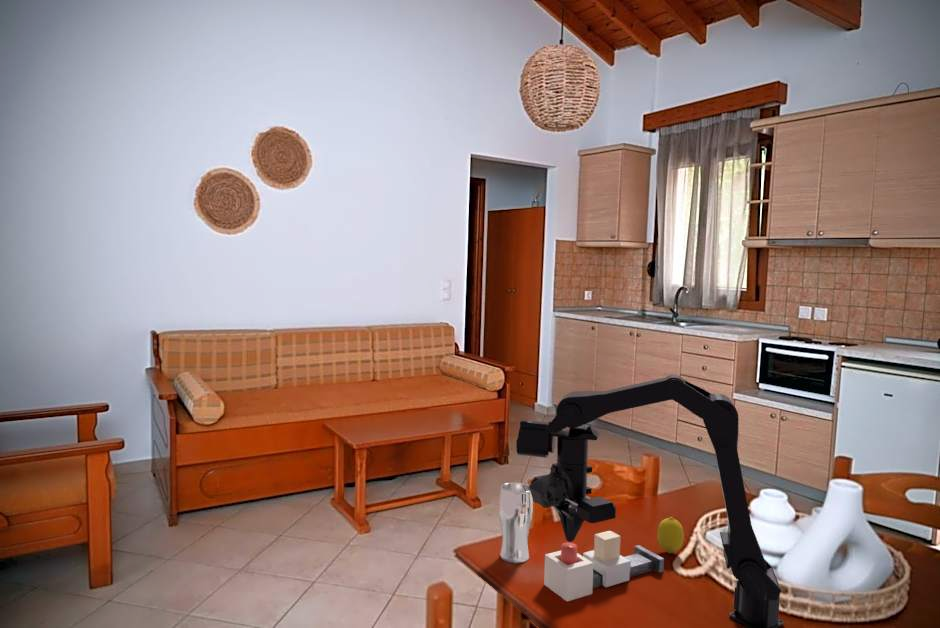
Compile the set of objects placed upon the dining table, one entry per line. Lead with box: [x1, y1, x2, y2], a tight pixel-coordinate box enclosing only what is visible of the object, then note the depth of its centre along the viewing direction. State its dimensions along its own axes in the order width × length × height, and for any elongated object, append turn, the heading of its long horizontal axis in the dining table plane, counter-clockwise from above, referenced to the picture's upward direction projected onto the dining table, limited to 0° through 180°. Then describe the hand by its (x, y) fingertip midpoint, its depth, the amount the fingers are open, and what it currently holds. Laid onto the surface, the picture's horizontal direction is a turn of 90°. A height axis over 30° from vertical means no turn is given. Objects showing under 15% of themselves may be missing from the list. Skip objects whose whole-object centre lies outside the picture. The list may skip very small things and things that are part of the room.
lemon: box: [656, 516, 685, 554], centre depth 134 cm, size 6×6×8 cm
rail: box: [592, 544, 665, 589], centre depth 124 cm, size 7×17×3 cm, turn 120°
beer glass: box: [499, 481, 534, 564], centre depth 131 cm, size 7×7×15 cm
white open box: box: [543, 550, 594, 602], centre depth 118 cm, size 7×6×6 cm
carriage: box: [582, 530, 631, 588], centre depth 122 cm, size 7×6×8 cm
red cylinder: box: [560, 541, 578, 565], centre depth 118 cm, size 3×3×5 cm
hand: (569, 540), depth 117 cm, fingers closed
